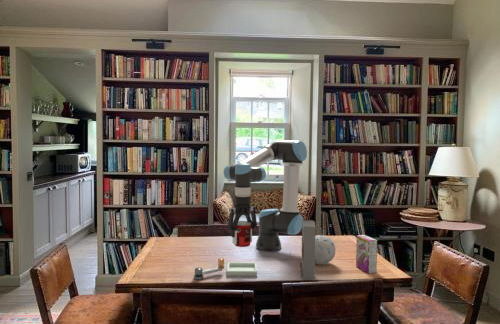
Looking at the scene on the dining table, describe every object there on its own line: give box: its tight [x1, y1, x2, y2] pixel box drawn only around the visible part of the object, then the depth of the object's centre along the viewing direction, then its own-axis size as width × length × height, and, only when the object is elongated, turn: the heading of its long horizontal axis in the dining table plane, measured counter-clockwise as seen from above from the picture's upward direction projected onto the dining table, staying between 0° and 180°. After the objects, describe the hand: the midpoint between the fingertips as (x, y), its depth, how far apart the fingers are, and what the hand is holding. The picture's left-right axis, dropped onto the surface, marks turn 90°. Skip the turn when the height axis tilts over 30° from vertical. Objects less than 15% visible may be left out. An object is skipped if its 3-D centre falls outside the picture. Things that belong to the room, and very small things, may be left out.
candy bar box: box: [355, 234, 378, 274], centre depth 186 cm, size 11×5×16 cm, turn 17°
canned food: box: [233, 220, 252, 248], centre depth 180 cm, size 8×8×11 cm
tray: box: [226, 261, 258, 278], centre depth 181 cm, size 14×13×3 cm
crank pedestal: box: [193, 274, 204, 281], centre depth 171 cm, size 4×4×1 cm
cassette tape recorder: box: [299, 219, 316, 281], centre depth 177 cm, size 14×6×25 cm, turn 175°
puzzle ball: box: [315, 234, 336, 266], centre depth 194 cm, size 15×15×15 cm
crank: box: [194, 257, 225, 277], centre depth 175 cm, size 15×4×6 cm, turn 125°
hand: (242, 242), depth 180 cm, fingers closed on canned food, 8 cm apart
